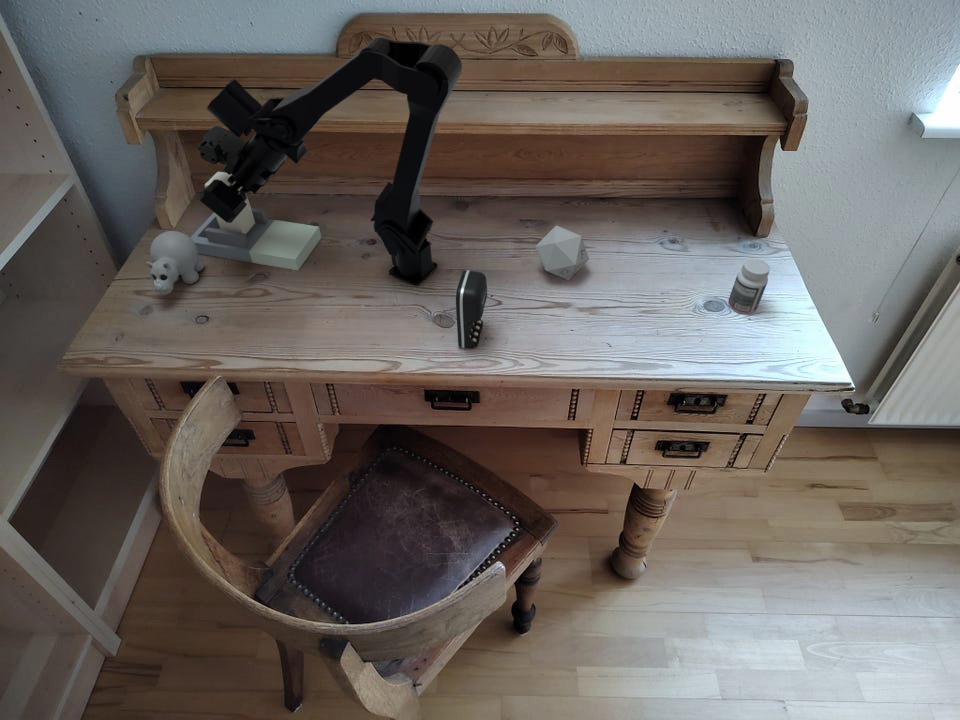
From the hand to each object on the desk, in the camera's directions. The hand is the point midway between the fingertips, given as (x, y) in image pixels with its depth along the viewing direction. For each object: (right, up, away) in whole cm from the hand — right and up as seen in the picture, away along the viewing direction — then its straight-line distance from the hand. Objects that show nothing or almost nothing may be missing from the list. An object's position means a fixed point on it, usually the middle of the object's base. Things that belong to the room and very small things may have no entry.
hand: (223, 203), depth 118 cm
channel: (+4, -6, +5) cm, 9 cm away
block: (+1, -4, +3) cm, 5 cm away
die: (+60, -12, 0) cm, 61 cm away
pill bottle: (+89, -19, -7) cm, 92 cm away
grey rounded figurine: (-7, -15, -2) cm, 17 cm away
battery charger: (+45, -24, -11) cm, 52 cm away
